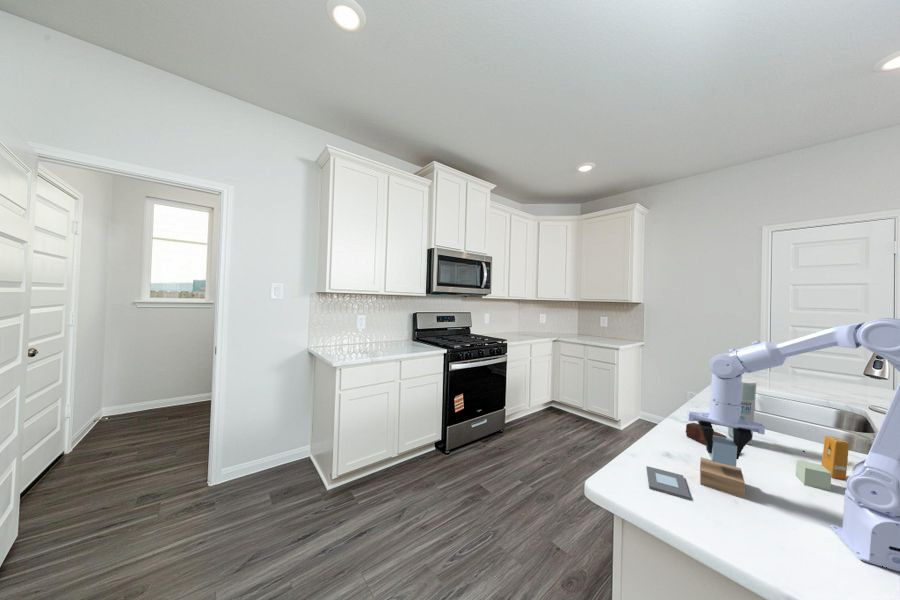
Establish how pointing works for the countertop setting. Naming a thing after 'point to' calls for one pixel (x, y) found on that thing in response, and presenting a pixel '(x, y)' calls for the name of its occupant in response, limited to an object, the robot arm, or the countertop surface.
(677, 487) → the card
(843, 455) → the supplement box
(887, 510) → the robot arm
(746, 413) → the spray can
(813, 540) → the countertop surface
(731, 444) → the slate block
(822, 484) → the sage block
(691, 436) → the brick
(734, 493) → the base block
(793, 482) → the countertop surface
